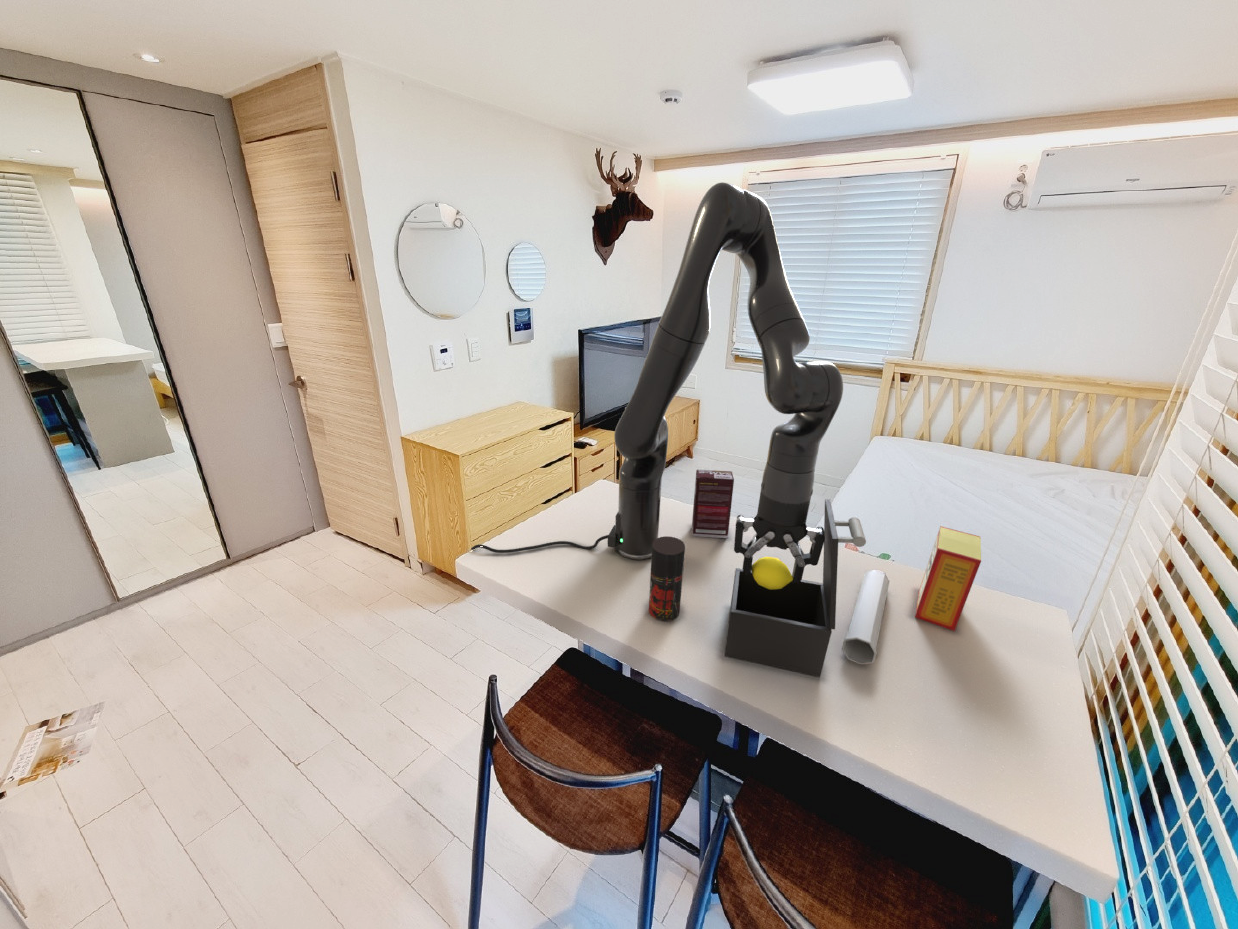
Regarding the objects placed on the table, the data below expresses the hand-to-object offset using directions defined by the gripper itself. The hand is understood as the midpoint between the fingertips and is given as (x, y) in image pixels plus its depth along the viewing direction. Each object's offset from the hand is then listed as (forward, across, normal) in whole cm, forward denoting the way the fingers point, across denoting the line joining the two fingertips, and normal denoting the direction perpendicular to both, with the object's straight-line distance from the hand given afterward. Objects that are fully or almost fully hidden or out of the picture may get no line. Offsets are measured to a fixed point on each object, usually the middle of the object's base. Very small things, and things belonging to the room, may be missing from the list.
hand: (770, 576), depth 85 cm
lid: (-5, -8, 0) cm, 9 cm away
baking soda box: (+14, -33, -18) cm, 40 cm away
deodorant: (+14, +18, -2) cm, 23 cm away
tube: (+14, -19, -11) cm, 26 cm away
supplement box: (+14, +13, -33) cm, 38 cm away
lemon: (+2, 0, 0) cm, 2 cm away
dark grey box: (+13, -2, 0) cm, 14 cm away
